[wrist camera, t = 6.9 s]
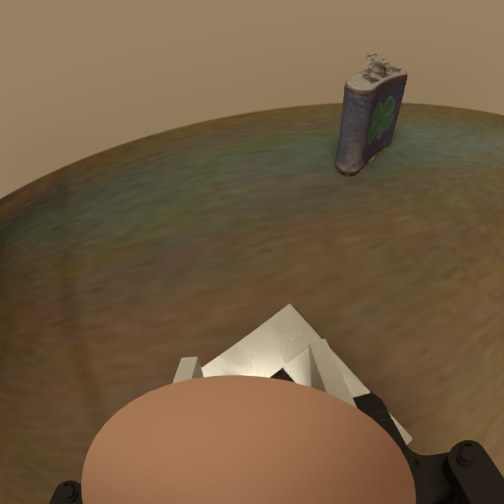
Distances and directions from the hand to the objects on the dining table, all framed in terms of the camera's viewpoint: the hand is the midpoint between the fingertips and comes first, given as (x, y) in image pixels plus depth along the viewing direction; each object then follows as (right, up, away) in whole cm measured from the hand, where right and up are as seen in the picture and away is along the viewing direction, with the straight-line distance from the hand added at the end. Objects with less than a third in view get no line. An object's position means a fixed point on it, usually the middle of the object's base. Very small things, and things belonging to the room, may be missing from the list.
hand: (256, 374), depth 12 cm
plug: (+1, -6, +2) cm, 6 cm away
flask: (+12, +16, +15) cm, 25 cm away
